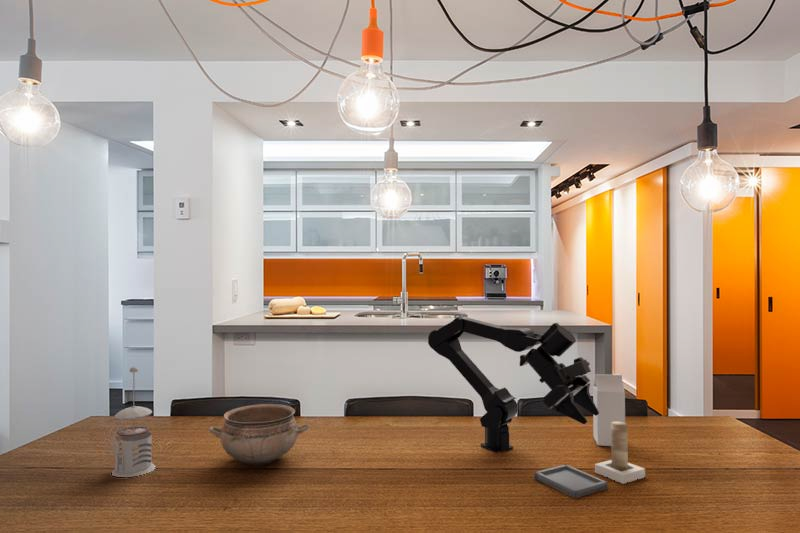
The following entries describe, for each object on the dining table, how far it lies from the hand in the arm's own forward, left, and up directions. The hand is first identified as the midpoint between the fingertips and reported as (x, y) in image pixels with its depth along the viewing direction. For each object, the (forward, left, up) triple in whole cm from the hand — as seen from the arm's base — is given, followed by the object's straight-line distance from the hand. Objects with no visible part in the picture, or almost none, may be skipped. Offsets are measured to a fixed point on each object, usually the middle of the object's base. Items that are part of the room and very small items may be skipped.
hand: (591, 418), depth 125 cm
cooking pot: (-44, -69, -12) cm, 83 cm away
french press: (-52, -98, -12) cm, 112 cm away
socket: (+6, +3, -12) cm, 14 cm away
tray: (+4, -11, -12) cm, 17 cm away
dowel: (+6, +3, -12) cm, 14 cm away
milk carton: (-11, +20, -12) cm, 26 cm away
